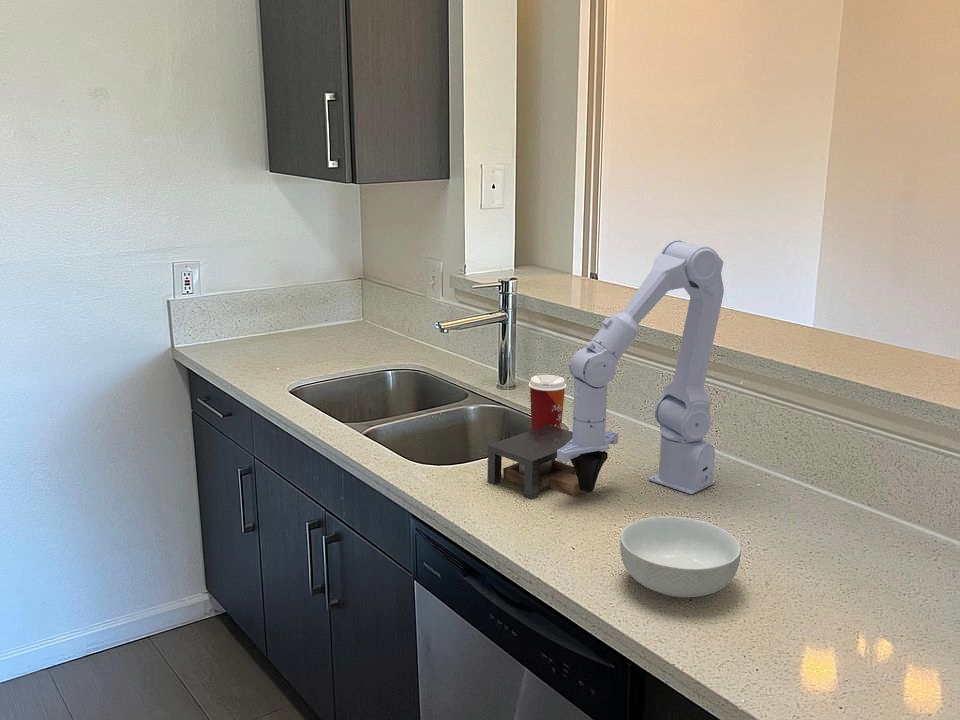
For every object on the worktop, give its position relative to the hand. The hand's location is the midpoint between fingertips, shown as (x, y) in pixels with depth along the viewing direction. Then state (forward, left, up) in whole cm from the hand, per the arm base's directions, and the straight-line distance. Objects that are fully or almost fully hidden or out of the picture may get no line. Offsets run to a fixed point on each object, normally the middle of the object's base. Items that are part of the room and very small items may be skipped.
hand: (586, 490), depth 163 cm
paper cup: (+23, -14, -1) cm, 27 cm away
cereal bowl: (-29, +16, -1) cm, 33 cm away
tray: (+9, 0, -1) cm, 9 cm away
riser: (+11, 0, -1) cm, 11 cm away
